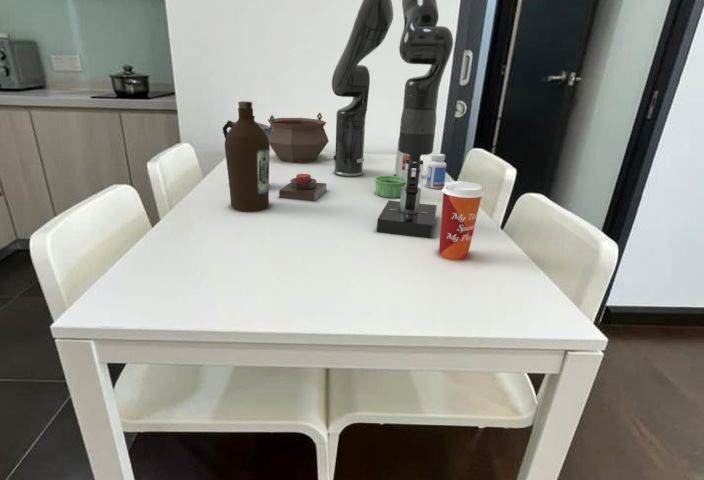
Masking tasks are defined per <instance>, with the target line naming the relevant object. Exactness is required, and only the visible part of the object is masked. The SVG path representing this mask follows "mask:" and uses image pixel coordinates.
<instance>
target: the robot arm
mask: <svg viewBox="0 0 704 480" xmlns="http://www.w3.org/2000/svg"><path fill="white" fill-rule="evenodd" d="M401 6H402V12H403V30H402V33H401V37H400V41H399V46H398V49H399V50H398V51H399V56H400V58H401V60H402V61H404V63H406V64H408V65H424V66H425V65H428V66H429V65H430V67H429V68H428V70H427V72H426V73H424V74H423V75H418V76H414V77H411V78H408V79H407V80H406V81H405V85H404V93H403V102H402V103H403V105H402V114H401V117H400V125H399V126H400V127H399V136H400V137H399V136H398V140H399V151H400V152H401V153H404V154H409V155H410V157H409V160H406V162H405V170H406V174H405V182H406V185H405V186H407V188H406V191H405V192H406V203H405V209H406V210H414V209H415V202H416V194H417V193H418V187H419V184H420V183H421V179H422V171H423V169H424V160H421V156H427V155H432V154H433V152H434V146H435V145H434V144H435V136H436V129H437V128H436V126H437V109H438V100H439V99H438V98H439V90H440V85H441V82H442V78H443V75H444V72H445V69H446V67H447V65H448V62H449V59H450V57H451V54H452V51H453V47H454V37H453V33H452V31H451V30H450V28H449V27H447V26H442V25H437V24H438V22H439V15H440V14H439V9H438V3H437V0H401ZM393 7H394V5H393V2H392V0H362V1H361V4H360V6H359V8H358V11H357V14H356V17H355V19H354V22H353V26H352V29H351V31H350V35H349V37H348V40H347V43H346V45H345V47H344V48H343V51H342V53H341V55H340V58H339V60H338V61H337V64H336V65H335V68H334V70H333V73H332V77H331V90H332V93H333V94H334V95H335V96H337V97H340V98H352V100H351V102H350V103H348V104H347V105H346V106H343V107H341V108H339V109H338V110H337V111H336V119H335V121H336V122H335V124H336V125H335V151H334V152H335V153H334V156H333V159H334V175H337V176H341V177H360V176H362V175H363V173H364V172H363V169H364V162H365V157H364V150H365V134H366V133H365V132H366V116H367V112H368V102H369V95H370V94H369V93H370V85H371V75H370V71H369V69H368V67H367V66H366V65H363V64H360V63H361V61H362V60H364V59H365V58H367V57H368V56H369V55H370V54H371V53H373V52H374V51H375V50H377V49H378V48H379V46H381V44H382V43H383V42H384V40H385V39H386V36H387V34H388V33H389V30H390V27H391V25H392V24H393V20H394V8H393ZM409 186H415V188H412V187H409Z"/></svg>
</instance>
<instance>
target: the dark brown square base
mask: <svg viewBox="0 0 704 480" xmlns="http://www.w3.org/2000/svg"><path fill="white" fill-rule="evenodd" d="M325 192H327V183H326V182H317V179H315V178H313V177H311V182H297V181H296V177H293V178H291V179H290V182H289V183H288V184H286V185H284V186H283V187H282V188H280V189H278V198H279V199H285V200H294V201H305V202H316V201H317V200H318V199H319V198H320V197H321V196H322V195H324V194H325Z"/></svg>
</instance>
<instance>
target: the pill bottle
mask: <svg viewBox="0 0 704 480" xmlns="http://www.w3.org/2000/svg"><path fill="white" fill-rule="evenodd" d="M430 159H431V161H429V162H428V165H427V173H426V184H425V185H426V187H427V188H429V189H435V190H436V189H437V190H438V189H439V190H440V189H443V188H444V186H445V184H446V173H447V162H445V160H446V154H444V153H431V158H430Z"/></svg>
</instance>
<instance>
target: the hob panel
mask: <svg viewBox="0 0 704 480" xmlns="http://www.w3.org/2000/svg"><path fill="white" fill-rule="evenodd" d="M437 207H438V205H437V204H431V203H429V204H428V203H420V202H419V211H418V213H417V214H404V213H401V212H400V211H399V209H400V201H399V200H389V199H388V201H387V202H386V203H385V206H384V208H383V209H382V211H381V213H380V214H379V216H378V218H377V220H376V221H377V222H376V233H383V234H393V235H402V236H410V237H418V238H419V237H420V238H425V239H431V238H432V236H433V231H434V230H433V229H434V226H435V220H436V215H437Z"/></svg>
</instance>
